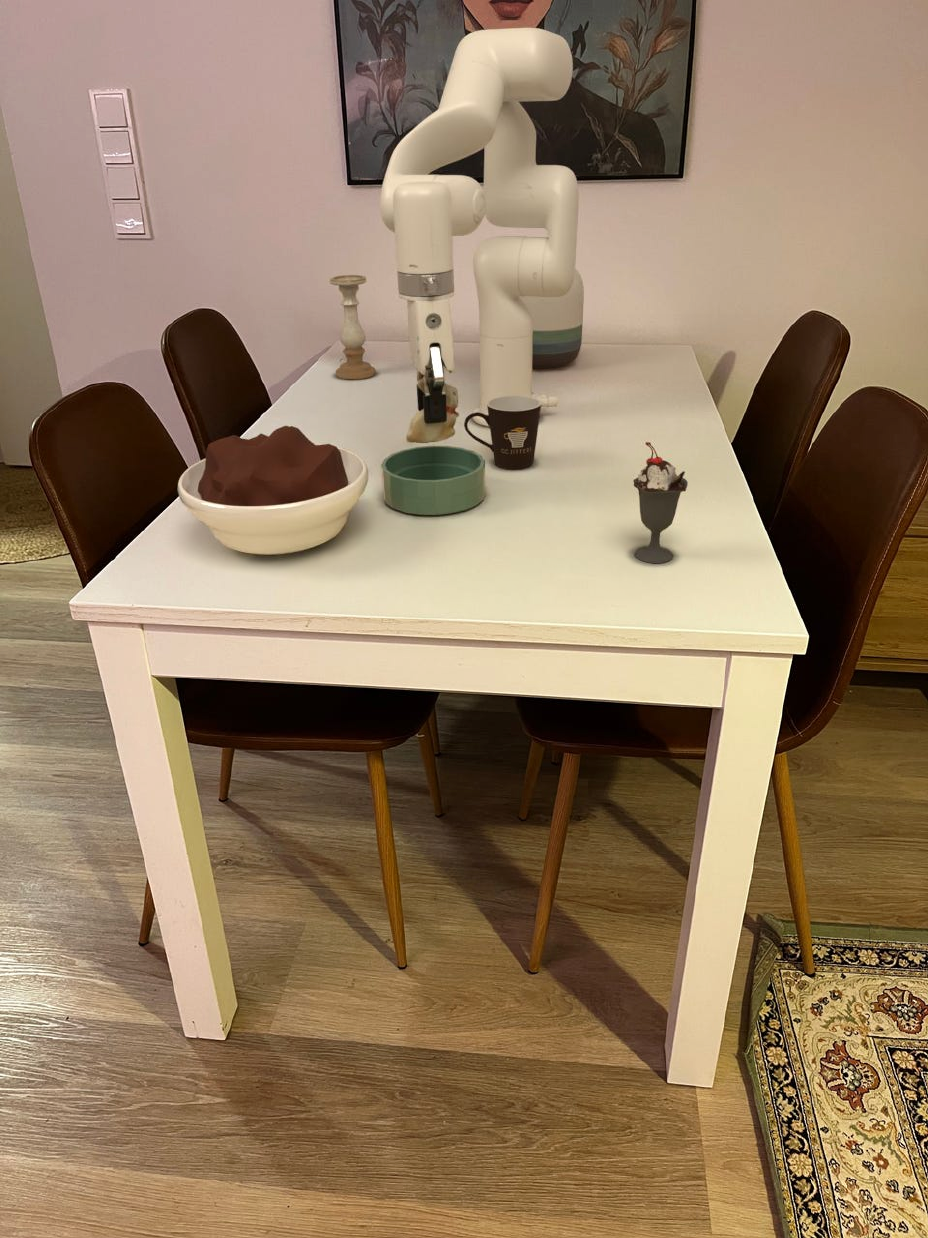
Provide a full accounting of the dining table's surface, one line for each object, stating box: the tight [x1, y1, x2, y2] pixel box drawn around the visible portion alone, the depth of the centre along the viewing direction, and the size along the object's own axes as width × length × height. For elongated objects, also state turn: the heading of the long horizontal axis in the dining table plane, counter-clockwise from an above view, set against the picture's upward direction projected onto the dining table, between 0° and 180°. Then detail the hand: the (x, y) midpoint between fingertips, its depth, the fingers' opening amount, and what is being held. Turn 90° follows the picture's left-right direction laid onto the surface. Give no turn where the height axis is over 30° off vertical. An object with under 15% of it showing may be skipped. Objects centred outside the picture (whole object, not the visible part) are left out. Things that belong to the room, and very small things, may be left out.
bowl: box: [380, 445, 486, 516], centre depth 135 cm, size 15×15×6 cm
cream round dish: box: [176, 425, 369, 556], centre depth 121 cm, size 25×25×15 cm
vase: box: [520, 268, 585, 369], centre depth 198 cm, size 17×17×24 cm
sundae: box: [632, 441, 689, 564], centre depth 114 cm, size 7×7×15 cm
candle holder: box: [329, 274, 377, 380], centre depth 195 cm, size 9×9×20 cm
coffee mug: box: [463, 395, 542, 471], centre depth 147 cm, size 12×9×10 cm
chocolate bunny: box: [406, 368, 460, 444], centre depth 130 cm, size 6×8×10 cm
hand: (432, 415), depth 131 cm, fingers closed on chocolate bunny, 4 cm apart
